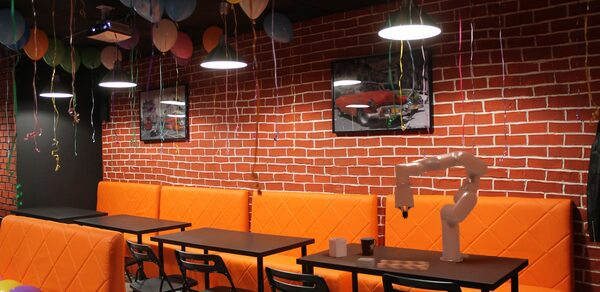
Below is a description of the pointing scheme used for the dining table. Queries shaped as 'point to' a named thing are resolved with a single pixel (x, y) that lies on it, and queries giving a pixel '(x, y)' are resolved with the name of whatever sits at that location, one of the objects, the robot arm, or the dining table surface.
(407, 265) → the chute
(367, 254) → the coffee mug
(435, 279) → the dining table surface
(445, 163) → the robot arm
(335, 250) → the white box
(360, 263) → the grayish brown block
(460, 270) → the dining table surface
